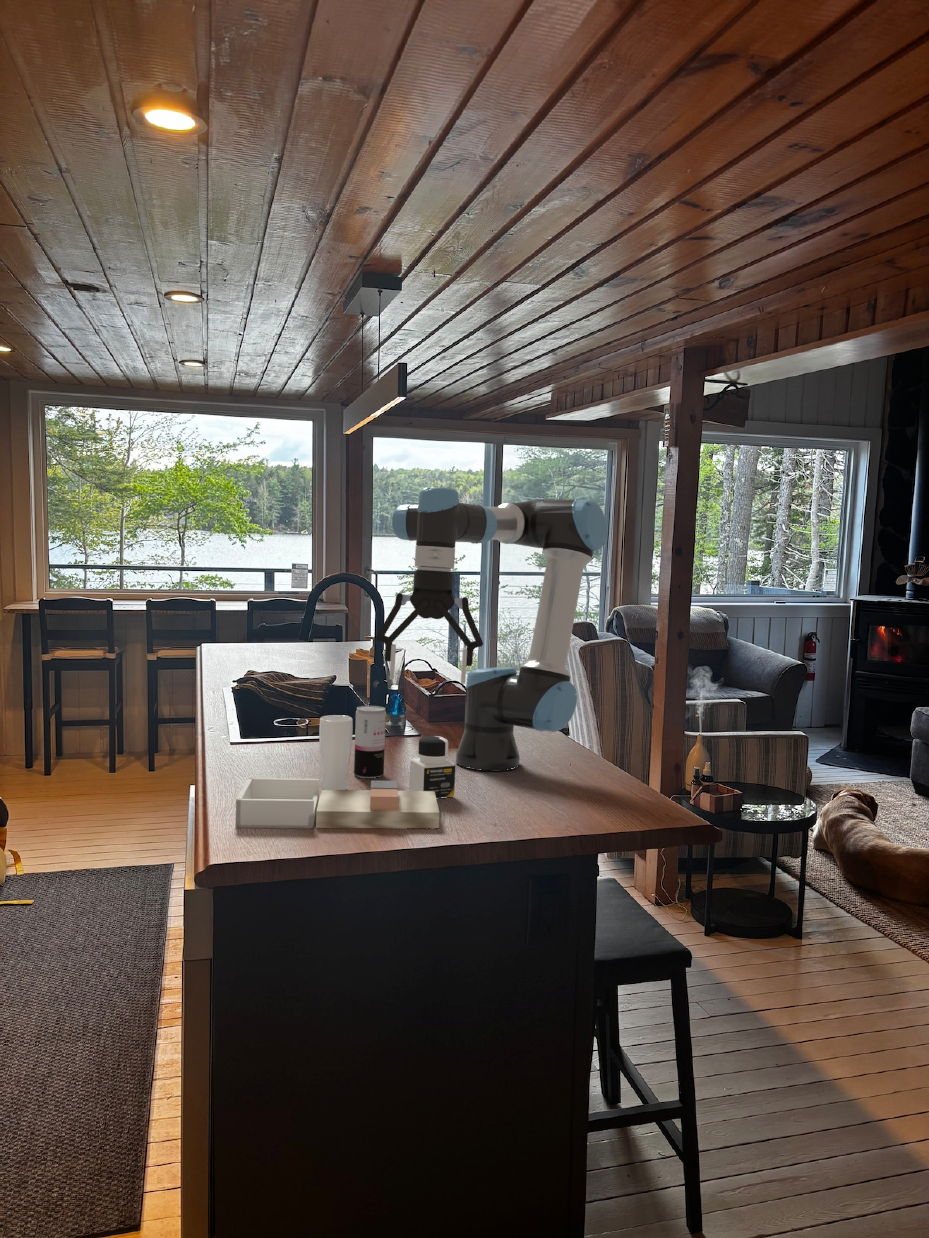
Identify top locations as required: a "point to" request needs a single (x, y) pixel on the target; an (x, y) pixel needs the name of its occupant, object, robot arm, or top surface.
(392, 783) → the slate tile
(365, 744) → the beverage can
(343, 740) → the white cylinder
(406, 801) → the board
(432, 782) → the medicine bottle
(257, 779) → the tray
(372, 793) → the terracotta tile
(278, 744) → the top surface
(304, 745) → the top surface
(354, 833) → the top surface
